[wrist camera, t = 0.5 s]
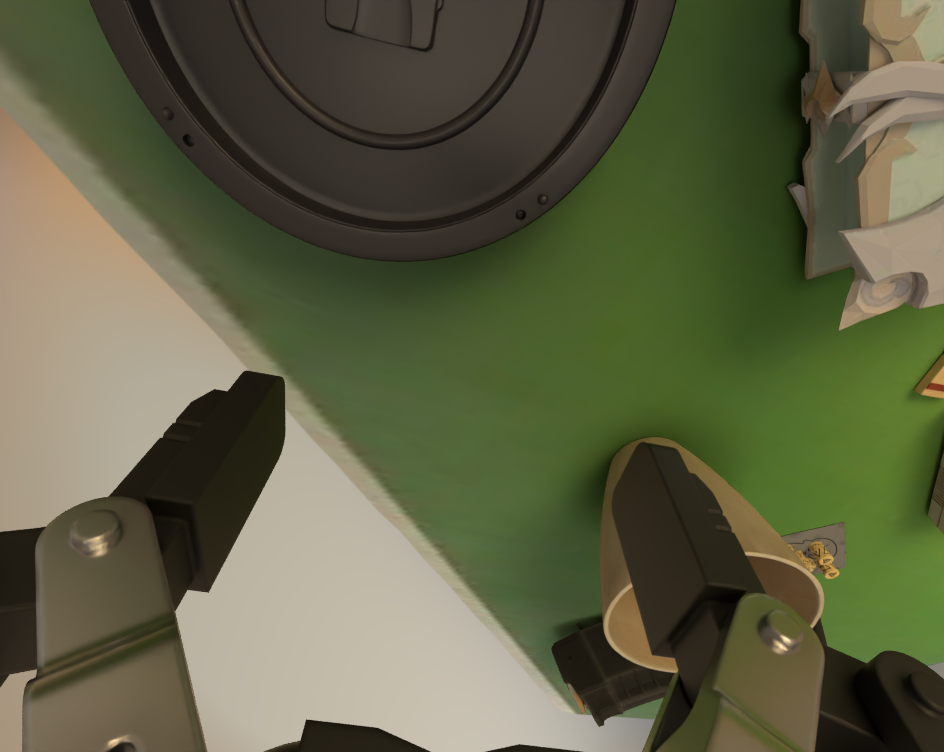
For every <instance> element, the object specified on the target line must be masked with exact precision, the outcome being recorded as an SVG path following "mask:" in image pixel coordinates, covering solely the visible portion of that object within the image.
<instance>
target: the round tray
mask: <svg viewBox="0 0 944 752" xmlns="http://www.w3.org/2000/svg"><path fill="white" fill-rule="evenodd" d="M89 1H90V4H91V6H92V8H93V11H94V13H95V15H96V18H97V20H98V22H99V24H100V26H101V29H102V31H103V33H104V35H105V37H106V39H107V41H108V43H109V45H110V47H111V49H112V51H113V53H114V54H115V56H116V58H117V60H118V62H119V64H120V65H121V67H122V69H123V71H124V72H125V74H126V76H127V77H128V79H129V81H130V82H131V84H132V86H133V87H134V89H135V90H136V92H137V93H138V95H139V96H140V98H141V99H142V101H143V102H144V104H145V105H146V107H147V108H148V110H149V111H150V112H151V114H152V115H153V116H154V118H155V119H156V121H157V122H158V123H159V124H160V126H161V127H162V128H163V130H164V131H165V132H166V133H167V135H168V136H169V137H170V138H171V139H172V141H173V142H174V143H175V144H176V145H177V146H178V148H179V149H180V150H181V151H182V152H183V153H184V154H185V155H186V156H187V157H188V159H189V160H190V161H191V162H192V163H193V164H194V165H195V166H196V167H197V168H198V169H199V170H200V171H201V172H202V173H203V174H204V175H206V176H207V177H208V178H209V179H210V180H211V181H212V182H213V183H214V184H215V185H217V186H218V187H219V188H220V189H221V190H222V191H224V192H225V193H226V194H227V195H229V196H230V197H231V198H232V199H234V200H235V201H236V202H238V203H239V204H240V205H242V206H243V207H244V208H246V209H247V210H249V211H250V212H252V213H253V214H255V215H256V216H258V217H259V218H261V219H263V220H264V221H266V222H267V223H269V224H271V225H273V226H274V227H276V228H278V229H280V230H282V231H284V232H286V233H288V234H290V235H292V236H294V237H296V238H298V239H300V240H303V241H305V242H307V243H310V244H313V245H315V246H318V247H321V248H324V249H327V250H330V251H333V252H337V253H340V254H344V255H349V256H353V257H358V258H364V259H370V260H379V261H393V262H413V261H426V260H434V259H441V258H446V257H451V256H455V255H460V254H463V253H467V252H470V251H473V250H476V249H479V248H482V247H485V246H487V245H490V244H492V243H495V242H497V241H499V240H501V239H503V238H505V237H507V236H509V235H511V234H513V233H515V232H517V231H519V230H520V229H522V228H524V227H525V226H527V225H529V224H530V223H532V222H533V221H535V220H536V219H538V218H539V217H541V216H542V215H543V214H545V213H546V212H547V211H549V210H550V209H551V208H552V207H554V206H555V205H556V204H557V203H559V202H560V201H561V200H562V199H563V198H564V197H565V196H566V195H568V194H569V193H570V192H571V191H572V190H573V189H574V188H575V187H576V186H577V185H578V184H579V183H580V182H581V181H582V180H583V179H584V178H585V177H586V175H587V174H588V173H589V172H590V171H591V170H592V169H593V168H594V166H595V165H596V164H597V163H598V162H599V160H600V159H601V158H602V157H603V155H604V154H605V153H606V151H607V150H608V149H609V147H610V146H611V145H612V143H613V142H614V140H615V139H616V137H617V136H618V134H619V133H620V131H621V130H622V128H623V127H624V125H625V123H626V122H627V120H628V118H629V117H630V115H631V113H632V111H633V110H634V108H635V106H636V104H637V102H638V100H639V99H640V97H641V95H642V93H643V91H644V89H645V87H646V84H647V82H648V80H649V78H650V76H651V74H652V71H653V69H654V66H655V64H656V62H657V59H658V57H659V54H660V51H661V49H662V46H663V43H664V40H665V37H666V34H667V31H668V28H669V25H670V22H671V18H672V15H673V11H674V8H675V4H676V0H89Z"/></svg>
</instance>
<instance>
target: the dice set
mask: <svg viewBox="0 0 944 752" xmlns="http://www.w3.org/2000/svg"><path fill="white" fill-rule="evenodd" d="M808 549H809V550H810V551H811V553H812V554H813V556H814V557H815V559H816V560H815V561H814V560H813V559H810V558H808V557H806V556H805V555H804V553H803V552H802V551H801V550H799V551H796V550H795V549H794V550H793V551H794V553H795V554H796V555H797V556H798V557H799V558H800V560H801V561H802V562H803V563H804V564H805V566H806V567H807V568H808V569H809V570H810V572H811V573H812V572H813V571H814V570H815V569H816V567H818V568H819V570H820V571H821V572H822V573H823V574H824V575H825V577H826V578H829V579H832V578H835V577H837V576H838V575H839V572H838V570H837V567H836V566H835V565H834V563H833V562H834V560H835V558H834V557H833V555H832V554H831V553H830V551H829V550H828V549H827V547H826V546H825V544H824V543H823V542H822V541H816V542H814V543H812V544H811V545H810V546H809V547H808Z"/></svg>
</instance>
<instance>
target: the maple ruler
mask: <svg viewBox="0 0 944 752" xmlns="http://www.w3.org/2000/svg"><path fill="white" fill-rule="evenodd" d="M914 390H915V391H916V392H918V393H919V394H920V395H926V396H931V397H937V398H943V399H944V353H943V354H942V355H941V357H940V358H939V359H938V360H937V362H936V363H935V364H934V365H933V367H932V368H931V369H930V370H929V372H928V373H927V374H926V375H925V377H924V378H923V379H922V380H921V382H920V383H919V384H918V385H917V387H916V388H915V389H914Z"/></svg>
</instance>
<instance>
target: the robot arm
mask: <svg viewBox="0 0 944 752" xmlns="http://www.w3.org/2000/svg"><path fill="white" fill-rule="evenodd" d="M284 440H285V382H284V379H283V377H280V376H275V375H269V374H263V373H258V372H252V371H244V372H243V373H242V374H241V375H240V376H239V378H238V379H237V380H236V381H235V383H234V384H233V385H232V387H231V388H230V389H229V390H228V391H222V390H216V389H214V390H212V391H211V392H209V393H207V394H205V395H204V396H202V397H200V398H198V399H196V400H194V401H193V402H191V403H190V404H189V406H187V408H186V409H185V410H184V411H183V412H182V413H181V414H180V416H179V417H178V418H177V419H176V423H173V424H172V425H171V426H170V427H169V428H168V429H167V431H166V432H165V433H164V436H163V438H160V439H159V440H158V441H157V442H156V443H155V444H154V445H153V447H152V448H151V449H150V450H149V451H148V452H147V453H146V455H145V456H144V457H143V458H142V459H141V460H140V461H139V463H138V464H137V465H136V466H135V467H134V468H133V470H132V471H131V472H130V473H129V474H128V475H127V477H125V479H124V480H123V481H122V482H121V483H120V484H119V485H118V487H117V488H116V489H115V490H114V491H113V492H112V493H111V494H110V496H108V497H104V498H98V499H94V500H90V501H87V502H84V503H82V504H79V505H77V506H74V507H73V508H71V509H69V510H67V511H65V512H64V513H62V514H61V515H59V516H58V517H56V518H55V519H54V520H53V521H52V522H50V523H49V524H48V525H47V527H41V528H34V529H24V530H15V531H5V532H0V687H1V686H2V684H3V683H4V681H5V680H6V679H7V677H8V676H9V674H14V673H19V672H25V671H30V670H35V669H37V675H36V677H35V678H34V679H31V680H29V681H28V682H27V684H26V687H25V690H24V696H23V711H22V713H23V714H22V716H23V717H22V723H23V724H22V725H23V726H22V727H23V728H22V736H23V737H22V752H207V748H206V743H205V739H204V735H203V731H202V727H201V722H200V718H199V713H198V709H197V705H196V700H195V696H194V692H193V688H192V683H191V679H190V674H189V670H188V666H187V662H186V657H185V653H184V648H183V644H182V639H181V635H180V631H179V627H178V622H177V618H176V613H175V611H176V609H177V607H178V606H179V604H180V602H181V600H182V599H183V597H184V595H185V593H186V592H187V590H194V591H201V592H208V593H209V591H210V589H211V587H212V585H213V583H214V581H215V579H216V577H217V575H218V574H219V572H220V570H221V568H222V566H223V564H224V562H225V560H226V558H227V556H228V554H229V553H230V551H231V549H232V547H233V545H234V543H235V541H236V539H237V537H238V535H239V534H240V532H241V530H242V528H243V526H244V524H245V522H246V520H247V518H248V517H249V515H250V513H251V511H252V509H253V507H254V505H255V503H256V501H257V499H258V498H259V496H260V494H261V492H262V490H263V488H264V486H265V484H266V482H267V480H268V479H269V476H270V474H271V473H272V471H273V469H274V467H275V465H276V463H277V461H278V459H279V457H280V455H281V452H282V448H283V445H284ZM612 515H613V519H614V522H615V526H616V529H617V533H618V536H619V540H620V544H621V547H622V551H623V554H624V558H625V561H626V565H627V569H628V572H629V576H630V579H631V583H632V586H633V590H634V594H635V597H636V601H637V604H638V608H639V611H640V615H641V619H642V622H643V626H644V629H645V633H646V636H647V640H648V644H649V647H650V651H651V654H652V655H654V656H661V657H668V658H675V661H676V664H677V667H678V671H677V672H676V673H675V675H674V676H673V677H672V679H671V682H670V684H669V686H668V689H667V691H666V694H665V696H664V699H663V701H662V704H661V706H660V709H659V711H658V714H657V716H656V719H655V721H654V724H653V726H652V729H651V731H650V734H649V736H648V739H647V741H646V744H645V746H644V748H643V751H642V752H944V679H943V678H942V677H940V676H939V675H938V674H937V673H936V672H935V671H933V670H932V669H930V668H929V667H928V666H926V665H925V664H923V663H922V662H920V661H918V660H916V659H915V658H913V657H911V656H908V655H906V654H904V653H900V652H897V651H884V652H881V653H880V654H878V655H877V656H876V657H874V658H873V659H872V660H871V661H869V662H868V663H864V662H862V661H860V660H858V659H855V658H853V657H851V656H849V655H846V654H844V653H842V652H839V651H837V650H835V649H833V648H830V647H828V646H826V645H824V644H821V642H820V640H819V638H818V636H817V635H816V633H815V632H814V630H813V629H812V628H811V626H810V625H809V624H808V623H807V622H806V620H805V619H804V618H803V617H802V616H801V615H800V614H798V613H797V612H796V611H795V610H794V609H792V608H791V607H790V606H788V605H787V604H785V603H784V602H782V601H780V600H778V599H776V598H774V597H772V596H769V595H767V594H766V592H765V590H764V588H763V586H762V584H761V582H760V581H759V579H758V577H757V575H756V573H755V571H754V569H753V567H752V565H751V564H750V562H749V560H748V558H747V556H746V554H745V552H744V550H743V548H742V547H741V545H740V543H739V541H738V539H737V537H736V535H735V533H734V532H731V529H732V528H731V526H730V524H729V522H728V520H727V518H726V516H723V511H722V509H721V507H720V505H719V503H718V501H717V499H716V497H715V496H714V494H713V492H712V491H711V490H710V489H709V488H708V487H707V486H706V485H705V483H704V482H703V481H702V480H701V479H700V478H699V477H698V476H697V475H696V474H695V473H689V471H688V469H687V467H686V465H685V463H684V461H683V459H682V457H681V455H680V453H679V451H678V450H677V449H676V448H674V447H669V446H663V445H658V444H652V443H646V442H641V443H639V444H638V445H637V446H636V448H635V450H634V452H633V454H632V455H631V457H630V459H629V461H628V463H627V465H626V467H625V469H624V471H623V473H622V475H621V477H620V479H619V481H618V483H617V485H616V487H615V489H614V492H613V496H612ZM264 752H430V751H428V750H426V749H423V748H421V747H419V746H417V745H415V744H412V743H410V742H408V741H406V740H403V739H401V738H399V737H397V736H394V735H392V734H390V733H388V732H386V731H383V730H381V729H379V728H374V727H366V726H357V725H349V724H340V723H331V722H322V721H314V720H306V722H305V726H304V730H303V733H302V737H301V741H297V742H292V743H288V744H284V745H281V746H278V747H275V748H273V749H269V750H267V751H264ZM487 752H580V751H571V750H563V749H555V748H546V747H538V746H529V745H520V744H519V745H515V746H510V747H505V748H501V749H496V750H491V751H487Z"/></svg>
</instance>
